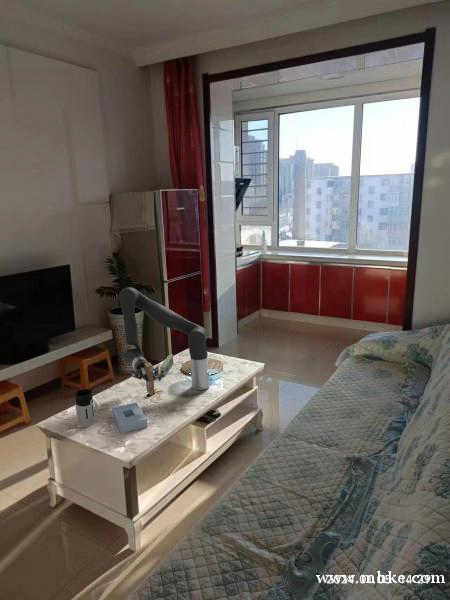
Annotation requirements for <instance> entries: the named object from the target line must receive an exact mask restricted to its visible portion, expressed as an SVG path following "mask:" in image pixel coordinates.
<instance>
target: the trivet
mask: <svg viewBox="0 0 450 600" xmlns="http://www.w3.org/2000/svg"><path fill="white" fill-rule="evenodd" d="M208 369H217V370H218V371H219V370H221V371H220V372H222V371H223V369H224V364H223V362H222V361H221V360H219V359H216V358H212V357H208ZM181 372H182V373H183V374H185V375H187V374H189V373H191V359H189V360H187V361H185V362H183V363H182V365H181Z"/></svg>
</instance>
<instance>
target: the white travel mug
mask: <svg viewBox="0 0 450 600" xmlns="http://www.w3.org/2000/svg"><path fill="white" fill-rule="evenodd" d="M74 398H75V409H76V410H75V411H76V418H77V422H76V425H77V426H78V427H81V428H88V427H90V426H93V425H95V424H96V423H97V420H98V419H97V418H96V416H97V414H98V403H97V401H96V400H95V399H94V398H93V391H92V389H89V388H83V389H79V390H77V391H75V392H74Z"/></svg>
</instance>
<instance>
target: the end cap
mask: <svg viewBox="0 0 450 600" xmlns="http://www.w3.org/2000/svg"><path fill="white" fill-rule="evenodd" d="M111 415H112V417H113V420H114V422H115V424H116V426H117V428H118V430H119V432H120V434H125V433H129V432H132V431H135V430H139V429H140V430H141V429H143V428H147V427H148V418H147V417H146V415H145V414H144V412H143V410H142V409H141V408H140V406H139V405H138V402H133V403H132V402H131V403H128V404H127V403H126V404H123V405H120V406H115V407H111Z"/></svg>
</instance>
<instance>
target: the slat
mask: <svg viewBox="0 0 450 600" xmlns="http://www.w3.org/2000/svg"><path fill="white" fill-rule="evenodd" d="M153 368H154V367H153V365H152V364H151V362H148V363H145V374H146V375H147V376H148V378H149V381H148V382H147V381H145V386H146V393H148V395H150V396H151V395H155V394H156V393H155V383H154V381H155V380H153V372H154V371H153Z"/></svg>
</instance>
